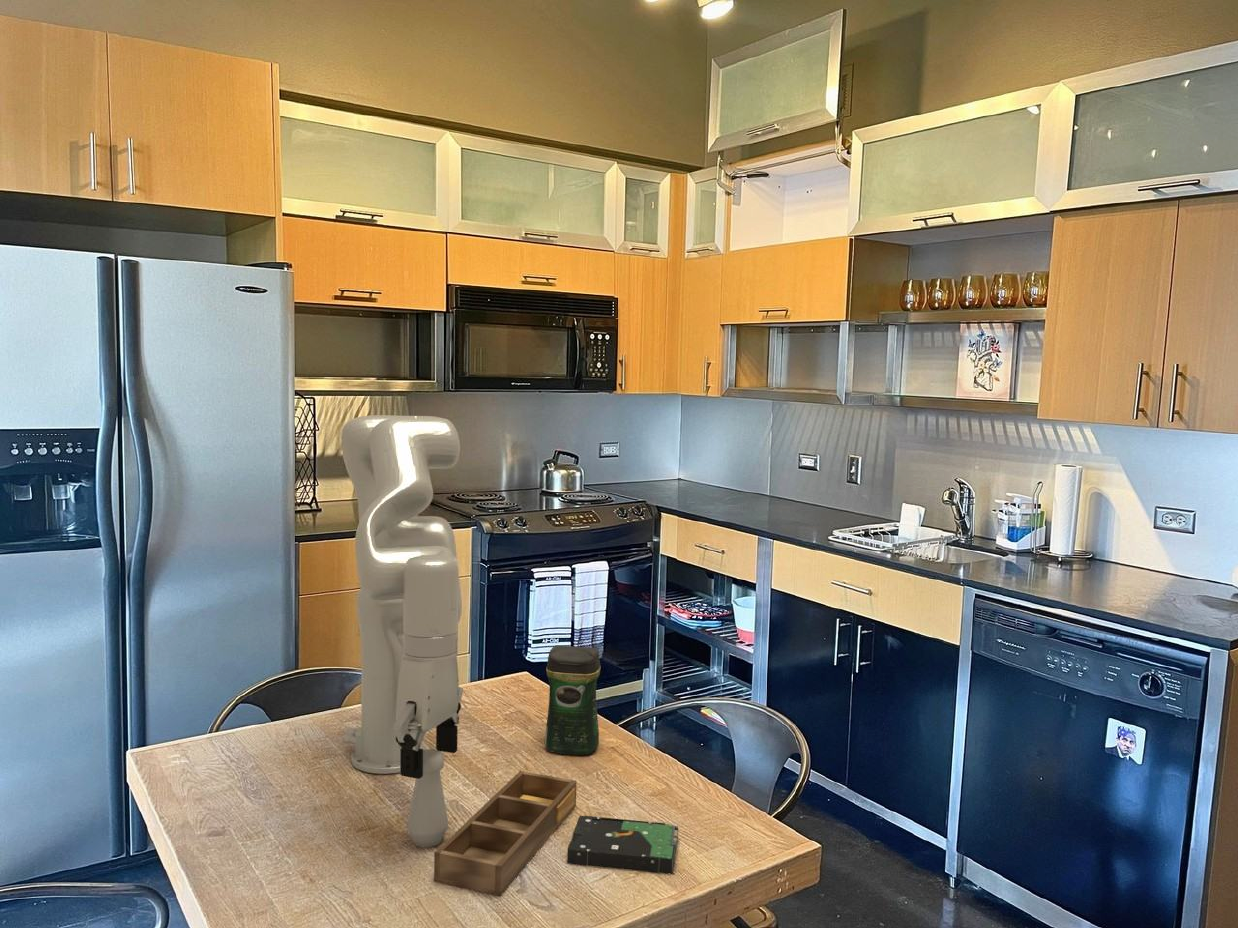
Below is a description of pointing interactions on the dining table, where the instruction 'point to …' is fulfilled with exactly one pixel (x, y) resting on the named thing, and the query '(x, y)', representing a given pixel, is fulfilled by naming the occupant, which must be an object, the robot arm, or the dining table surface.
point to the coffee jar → (572, 700)
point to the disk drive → (623, 844)
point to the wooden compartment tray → (505, 833)
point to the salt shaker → (428, 803)
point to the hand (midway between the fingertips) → (429, 763)
